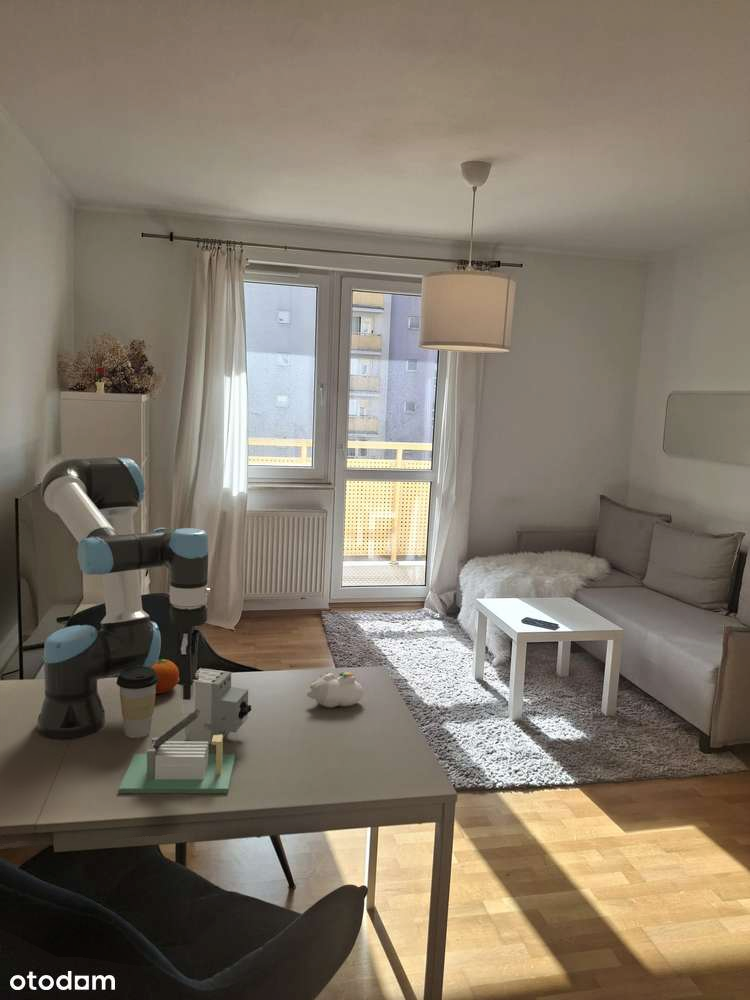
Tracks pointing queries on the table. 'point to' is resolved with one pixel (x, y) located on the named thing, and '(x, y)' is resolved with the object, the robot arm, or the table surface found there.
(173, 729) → the grey lever
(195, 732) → the circuit breaker
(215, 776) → the board
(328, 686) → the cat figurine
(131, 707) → the coffee cup
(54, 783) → the table surface
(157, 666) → the fruit
